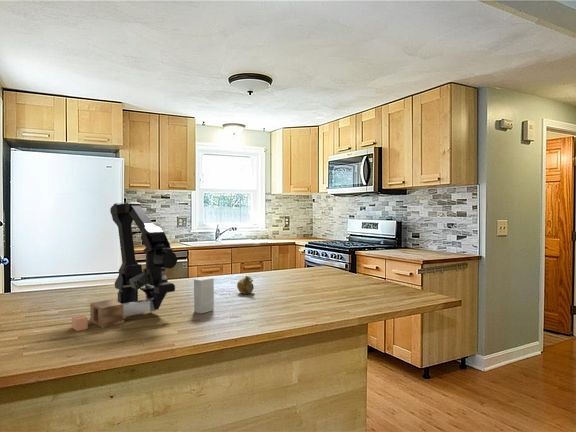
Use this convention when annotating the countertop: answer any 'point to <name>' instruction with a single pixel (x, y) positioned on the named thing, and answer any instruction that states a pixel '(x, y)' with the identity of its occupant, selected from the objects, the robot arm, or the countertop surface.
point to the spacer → (79, 322)
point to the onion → (245, 285)
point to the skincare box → (203, 294)
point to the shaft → (138, 306)
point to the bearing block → (106, 313)
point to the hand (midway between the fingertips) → (154, 308)
